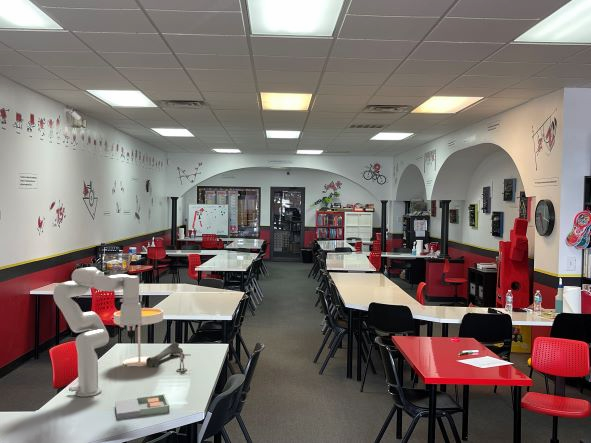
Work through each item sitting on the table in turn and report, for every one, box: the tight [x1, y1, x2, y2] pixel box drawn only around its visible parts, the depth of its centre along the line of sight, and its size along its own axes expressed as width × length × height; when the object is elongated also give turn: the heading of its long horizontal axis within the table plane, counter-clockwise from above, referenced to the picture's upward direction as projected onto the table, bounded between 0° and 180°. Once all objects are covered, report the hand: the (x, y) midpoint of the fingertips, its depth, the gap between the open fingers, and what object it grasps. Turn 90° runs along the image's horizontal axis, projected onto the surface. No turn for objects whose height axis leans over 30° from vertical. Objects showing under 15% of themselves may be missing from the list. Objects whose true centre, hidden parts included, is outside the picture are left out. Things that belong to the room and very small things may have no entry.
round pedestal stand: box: [113, 307, 164, 367], centre depth 332 cm, size 30×30×31 cm
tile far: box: [147, 398, 159, 407], centre depth 255 cm, size 5×5×2 cm
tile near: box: [150, 402, 161, 407], centre depth 249 cm, size 5×5×2 cm
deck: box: [114, 398, 141, 420], centre depth 248 cm, size 10×17×2 cm, turn 21°
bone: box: [146, 342, 183, 368], centre depth 335 cm, size 32×10×9 cm, turn 161°
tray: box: [136, 393, 170, 417], centre depth 253 cm, size 13×17×3 cm
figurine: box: [172, 349, 191, 373], centre depth 313 cm, size 11×7×12 cm, turn 81°
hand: (130, 338), depth 262 cm, fingers closed
